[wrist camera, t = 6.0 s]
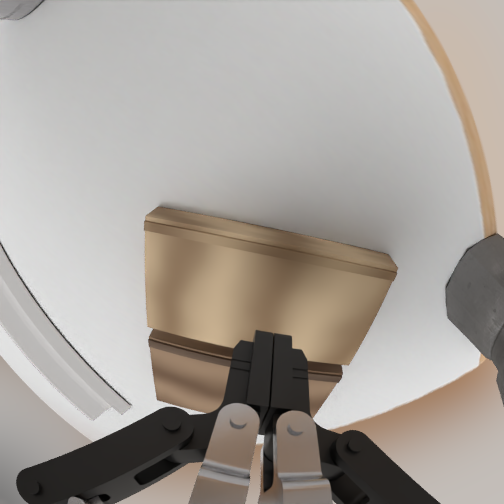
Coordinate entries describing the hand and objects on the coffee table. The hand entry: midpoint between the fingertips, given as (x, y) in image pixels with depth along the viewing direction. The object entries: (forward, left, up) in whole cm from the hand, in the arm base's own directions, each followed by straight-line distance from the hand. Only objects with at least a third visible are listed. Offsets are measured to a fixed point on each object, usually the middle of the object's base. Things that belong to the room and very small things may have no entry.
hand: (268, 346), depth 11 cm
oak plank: (+3, 0, -8) cm, 9 cm away
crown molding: (+17, -27, -9) cm, 34 cm away
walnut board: (+13, 0, -8) cm, 16 cm away
